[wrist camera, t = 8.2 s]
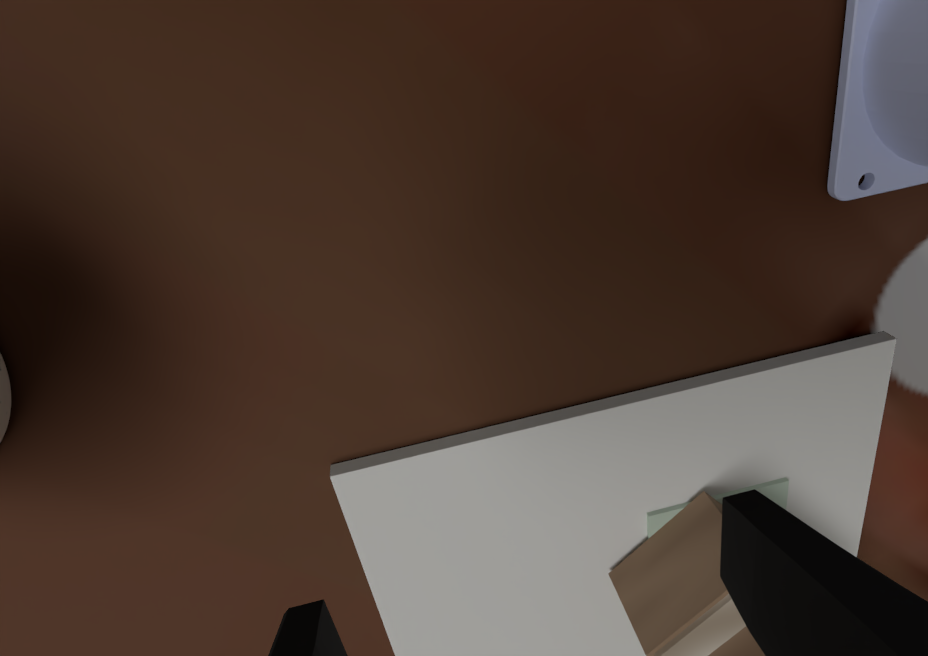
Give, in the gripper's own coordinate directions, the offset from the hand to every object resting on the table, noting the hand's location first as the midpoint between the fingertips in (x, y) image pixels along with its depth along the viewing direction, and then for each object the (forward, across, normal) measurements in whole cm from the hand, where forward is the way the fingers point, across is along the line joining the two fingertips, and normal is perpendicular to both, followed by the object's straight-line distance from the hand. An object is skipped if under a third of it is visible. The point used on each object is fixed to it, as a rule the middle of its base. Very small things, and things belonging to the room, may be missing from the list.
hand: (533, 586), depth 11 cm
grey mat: (+9, -5, +11) cm, 15 cm away
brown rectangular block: (+9, -8, +13) cm, 18 cm away
